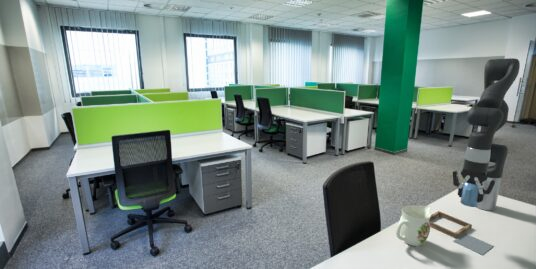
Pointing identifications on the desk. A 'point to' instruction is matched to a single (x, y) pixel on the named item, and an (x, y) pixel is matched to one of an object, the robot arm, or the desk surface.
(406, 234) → the pitcher
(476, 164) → the robot arm
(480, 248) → the mat
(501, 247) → the desk surface
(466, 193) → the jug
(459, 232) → the holder
